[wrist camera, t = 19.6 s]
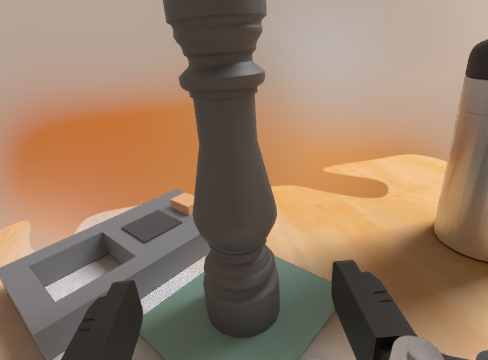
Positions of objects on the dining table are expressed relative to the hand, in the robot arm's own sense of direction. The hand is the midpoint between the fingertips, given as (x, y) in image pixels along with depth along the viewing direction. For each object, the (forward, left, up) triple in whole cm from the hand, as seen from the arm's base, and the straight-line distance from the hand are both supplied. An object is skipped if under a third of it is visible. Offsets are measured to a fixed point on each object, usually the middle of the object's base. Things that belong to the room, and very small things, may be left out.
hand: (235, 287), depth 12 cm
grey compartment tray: (-5, -22, -12) cm, 26 cm away
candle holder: (-7, -7, -12) cm, 15 cm away
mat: (-7, -7, -12) cm, 16 cm away
